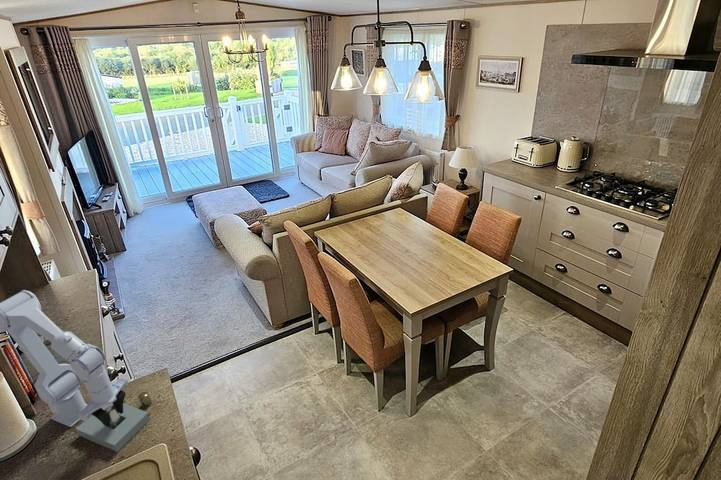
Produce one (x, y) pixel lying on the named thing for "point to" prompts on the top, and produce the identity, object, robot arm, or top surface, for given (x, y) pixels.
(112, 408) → the long pin
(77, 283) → the top surface
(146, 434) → the top surface
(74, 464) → the top surface
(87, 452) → the top surface
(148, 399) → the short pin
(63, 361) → the coffee box
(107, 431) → the hole plate
